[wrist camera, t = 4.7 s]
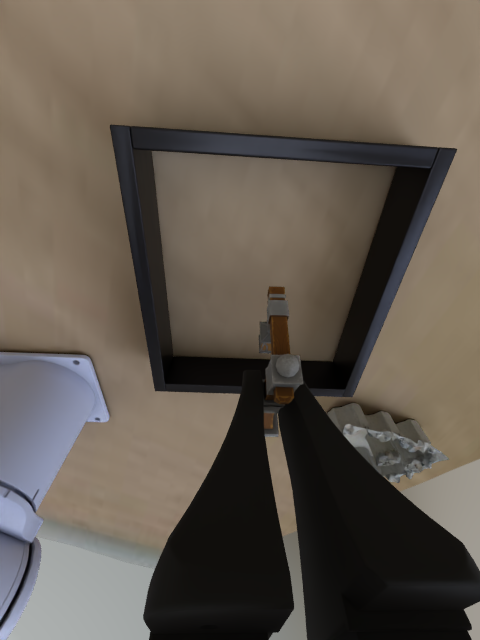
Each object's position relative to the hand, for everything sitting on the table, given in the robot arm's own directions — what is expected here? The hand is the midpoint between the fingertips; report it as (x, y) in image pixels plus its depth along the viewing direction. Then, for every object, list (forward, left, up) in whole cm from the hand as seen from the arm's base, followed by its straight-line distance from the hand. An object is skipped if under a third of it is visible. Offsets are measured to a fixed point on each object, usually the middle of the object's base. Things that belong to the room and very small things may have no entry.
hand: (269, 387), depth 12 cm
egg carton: (+12, -15, -8) cm, 21 cm away
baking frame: (0, +1, -8) cm, 8 cm away
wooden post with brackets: (0, 0, -2) cm, 2 cm away
